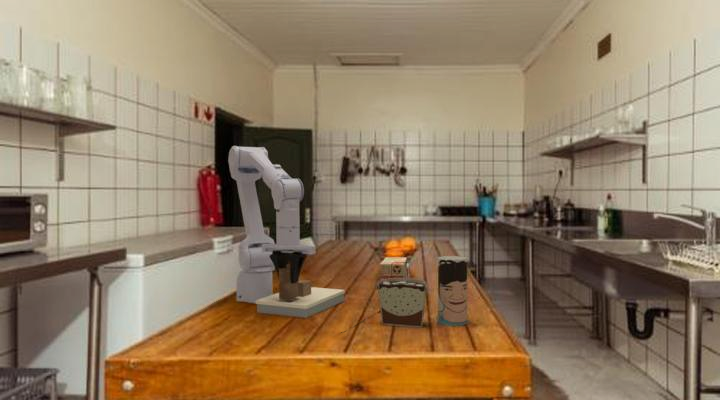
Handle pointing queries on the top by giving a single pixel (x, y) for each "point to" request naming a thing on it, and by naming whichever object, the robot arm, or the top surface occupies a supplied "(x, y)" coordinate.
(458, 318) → the cup
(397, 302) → the food container
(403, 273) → the stack of blocks
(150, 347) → the top surface
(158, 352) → the top surface
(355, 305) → the top surface
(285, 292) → the walnut key
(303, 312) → the shallow tray
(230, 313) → the top surface
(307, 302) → the lid
